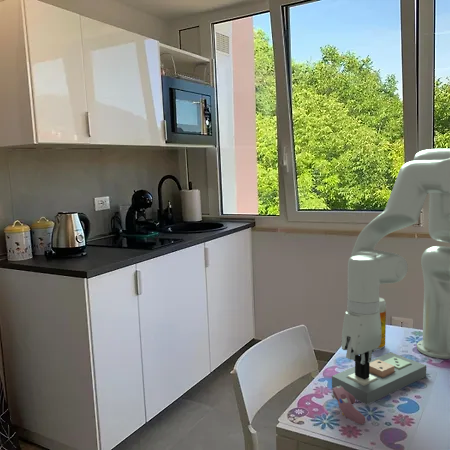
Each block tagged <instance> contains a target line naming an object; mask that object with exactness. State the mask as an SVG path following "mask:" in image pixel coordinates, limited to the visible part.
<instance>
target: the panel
mask: <svg viewBox="0 0 450 450" xmlns="http://www.w3.org/2000/svg"><path fill="white" fill-rule="evenodd" d="M392 357H397V358H399V359H402V360H405V361H407V362H410V363H411V365H409V366H407V367H405V368H403V369H401V370H398V369H396V368H394V373H392V374H389V375H387V376H385V377H383V378H382V377H380V376H377V375H375V374H373V373H370V372H369V374H370V375H372V376H375V377H377V380H376V381H374V382H372V383H369V384H367V385H365V386H363V385H361V384H359V383H357V382H355V381H353V380H351V379H348V376H349V375H351V374H353V373H355V366H353V367H350V368H348V369H346V370H343V371H341V372H338V373H335V374H334V375H332V376H331V387H332V388H334V387H337V386H340V385H341V387H343V388H344V389H345V390H346V391H347V392H349V393H350V394H352V395H353V396H354V398H355V400H357V401H359V402H360V403H362V404H365V405H367V406H368V405H370V404H372V403H374V402H376V401H378V400H380V399H382V398H384V397H386V396H389V395H390V394H393V393H394V392H396V391H399V390H400V389H403V388H405V387H408V385H412V384H414V383H415V382H417V381H420V380H421V379H423V378H425V377H427V365H426V364H423V363H421V362H419V361H415V360H413V359H410V358H407V357H405V356H402V355H399V354H398V353H394V352H388V353H385V354H382V355H380V356H378V357H375V358H372V359H371V362H373V361H376V360H381V361H385V360H388V359H390V358H392ZM371 362H369V363H371Z"/></svg>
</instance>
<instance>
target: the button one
mask: <svg viewBox="0 0 450 450" xmlns="http://www.w3.org/2000/svg"><path fill="white" fill-rule="evenodd" d="M348 379H351V380H353V381H355V382H357V383H359V384H361V385H363V386H365V385H367V384H369V383H372V382H374V381H376V380H377V377H375V376H372V375H370V374H369V378H366V379H362V378H360V377H358V376H356V375H355V373H353V374H351V375H349V376H348Z"/></svg>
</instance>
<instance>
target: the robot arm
mask: <svg viewBox="0 0 450 450" xmlns="http://www.w3.org/2000/svg"><path fill="white" fill-rule="evenodd" d="M393 184H394V185H393V187H392V190H391V193H390V195H389V197H388V200H387V202H386V205H385V209H383V211H382V212H380V214H378V215H377V216H376V217H375V218H373V219H372V220H371V221H370V222H369V223H368V224H367V225H366V226H364V227H363V229H361V231H360V232H359V234H358V235H357V238H356V241H355V243H354V246H353V248H352V251H351V253H350V254H351V255H350V257H349V258H348V261H347V291H346V292H347V305H346V307H347V309H346V311H345V312H344V313H345V314H344V317H343V322H342V329H341V330H342V332H341V350H342V351H346V355H345V358H346V359H347V360H352V361H354V367H355V375H356V376H358V377H360V378H362V379H366V378H369V368H370V363H369V362H371V360H373V354H374V353H375V352H376V351H377V350H379V349H378V347H379V346H380V344H381V318H380V312H379V297H380V285H382V284H385V285H386V284H395V283H399V282H401V281H402V280H403V279H404V278H405V277H406V276H407V273H408V270H409V266H408V262H407V259H406V258H405V257H404V256H402V255H401V254H398V253H396V252H389V251H384V250H378V249H375V248H376V246H377V244H378V243H379V242H380V241H381V239H383V238H384V237H386V236H387V235H389V234H391V233H393V232H396V231H400V230H403V229H405V228H409V227H410V226H413V225H415V224H417V222H418V221H419V218H420V216H421V212H422V210H423V206H424V205H425V202H426V199H427V196H429V205H428V207H429V209H428V210H429V211H428V234H429V236H430V238H431V239H432V240H434V241H437V242H442V243H448V244H450V148H448V147H447V148H431V149H430V148H429V149H423V150H420V151H418V152H417V153H416V154H415V155H414V157H413V160H411V161H408V162H405V163H404V164H403V165H402V166H401V167H400V169H399V171H398V174H397V176H396V178H395V182H394V183H393ZM420 260H421V261H420V262H421V264H420V265H421V271H422V276H423V314H422V315H423V316H422V317H423V318H422V340H420V341H418V342H417V344H416V349H417V351H419V353H421V354H424V355H425V356H428V357H431V358H437V359H444V360H450V246H444V245H442V246H441V245H434V246H431V247H428V248H426V249H424V251H423V252H422V254H421V258H420Z"/></svg>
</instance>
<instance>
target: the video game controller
mask: <svg viewBox="0 0 450 450" xmlns="http://www.w3.org/2000/svg"><path fill="white" fill-rule="evenodd" d="M331 390H332V394H331V398H332V399H333V400H335V399H336V401H337V404H338V407H339V410H340V411H341V415H342V416H343V417H345V418H346V419H348V420H350V421H351V422H353V423H355V424H357V425H364V424H365V423H366V417H365V415H364V414H363V413H361V412H360V411H359V410H357V409H356V407H354V406H353V405H354V404H355V403H356V399H355V398H354V396H353V395H352V394H350V393H349V392H347V391H346V390H345V389H344V388H343V387H341V385H340V386H337V387H334V388H333V387H332V388H331Z"/></svg>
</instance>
